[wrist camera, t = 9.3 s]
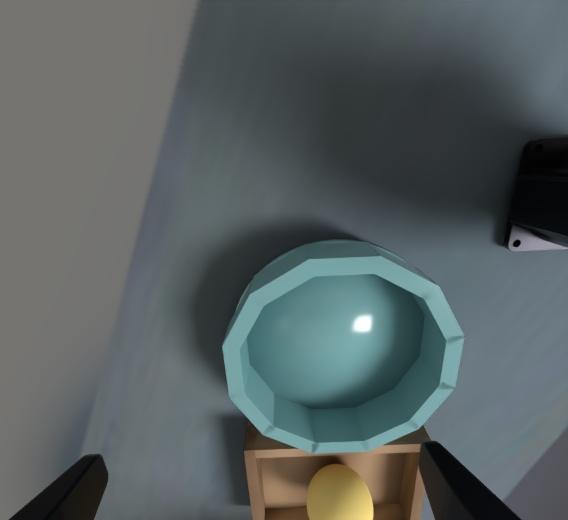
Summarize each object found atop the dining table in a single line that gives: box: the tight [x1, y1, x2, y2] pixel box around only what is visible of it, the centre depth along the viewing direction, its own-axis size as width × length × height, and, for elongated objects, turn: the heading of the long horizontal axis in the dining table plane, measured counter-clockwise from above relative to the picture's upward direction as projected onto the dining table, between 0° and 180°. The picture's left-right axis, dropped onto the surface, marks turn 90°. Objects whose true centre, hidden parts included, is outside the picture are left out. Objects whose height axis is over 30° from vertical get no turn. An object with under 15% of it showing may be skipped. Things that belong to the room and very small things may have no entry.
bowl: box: [222, 239, 465, 454], centre depth 19 cm, size 14×14×3 cm
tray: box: [244, 420, 431, 520], centre depth 24 cm, size 14×11×3 cm
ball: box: [306, 464, 373, 520], centre depth 22 cm, size 5×5×5 cm
